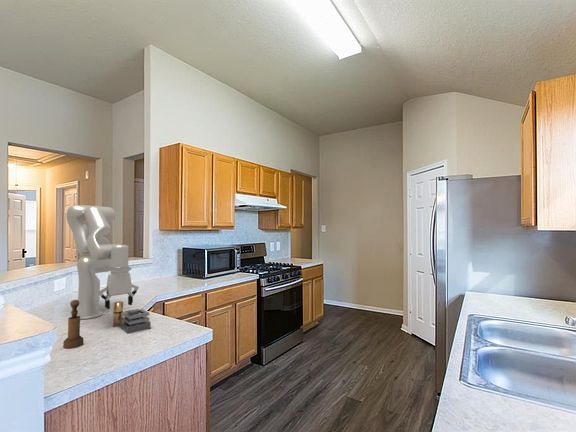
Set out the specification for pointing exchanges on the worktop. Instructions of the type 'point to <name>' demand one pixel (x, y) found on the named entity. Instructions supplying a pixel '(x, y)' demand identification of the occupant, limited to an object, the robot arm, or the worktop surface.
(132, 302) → the robot arm
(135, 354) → the worktop surface
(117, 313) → the copper tube
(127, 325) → the bracket
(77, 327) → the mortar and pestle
